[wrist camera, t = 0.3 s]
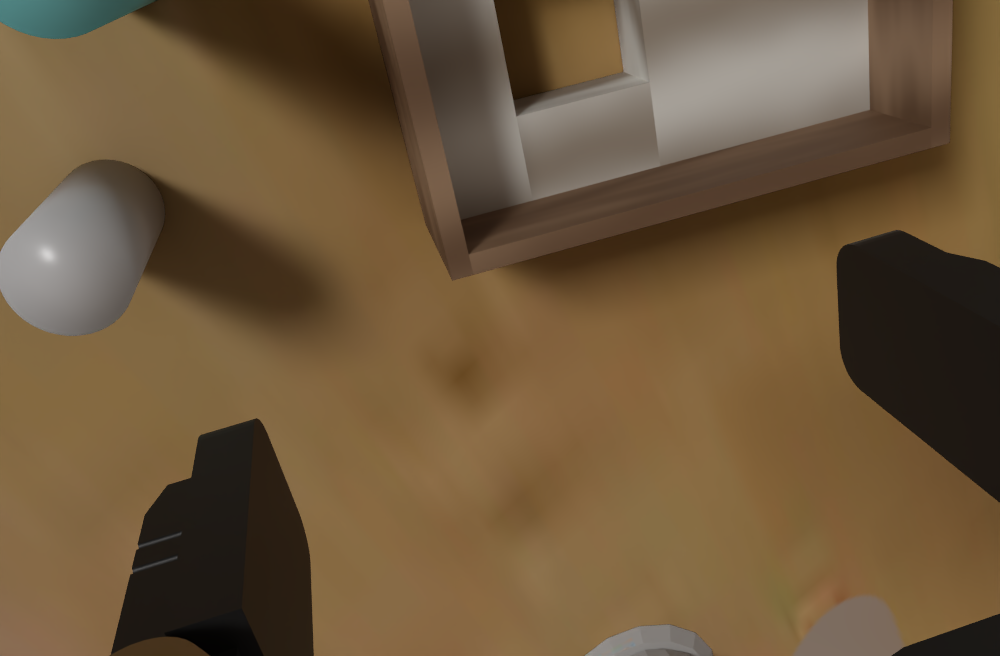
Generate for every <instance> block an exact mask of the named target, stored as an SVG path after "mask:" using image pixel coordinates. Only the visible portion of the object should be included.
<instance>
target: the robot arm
mask: <svg viewBox="0 0 1000 656" xmlns="http://www.w3.org/2000/svg"><path fill="white" fill-rule="evenodd" d="M837 289H838V311H839V334H840V350H841V355H842V359H843V362H844V365H845V368H846V370H847V372H848V374H849V376H850V378H851V379H852V381H853V382H854V383H855V385H856V386H857V387H858V388H859V389H860V390H861V391H862V392H864V393H865V394H866V395H867V396H869V397H870V398H871V399H872V400H874V401H875V402H876V403H877V404H878V405H880V406H881V407H882V408H883V409H885V410H886V411H887V412H888V413H890V414H891V415H892V416H893V417H895V418H896V419H897V420H898V421H899V422H901V423H902V424H903V425H904V426H906V427H907V428H908V429H909V430H911V431H912V432H913V433H914V434H916V435H917V436H918V437H919V438H921V439H922V440H923V441H924V442H925V443H927V444H928V445H929V446H930V447H932V448H933V449H934V450H935V451H937V452H938V453H939V454H940V455H942V456H943V457H944V458H945V459H946V460H948V461H949V462H950V463H951V464H953V465H954V466H955V467H956V468H958V469H959V470H960V471H961V472H963V473H964V474H965V475H966V476H968V477H969V478H970V479H971V480H972V481H974V482H975V483H976V484H977V485H979V486H980V487H981V488H982V489H984V490H985V491H986V492H987V493H989V494H990V495H991V496H992V497H994V498H995V499H996V500H997V501H998V502H1000V268H999V267H997V266H995V265H993V264H991V263H989V262H987V261H983V260H979V259H974V258H969V257H965V256H960V255H955V254H951V253H946V252H944V251H942V250H940V249H938V248H936V247H934V246H932V245H930V244H928V243H926V242H924V241H922V240H920V239H918V238H916V237H914V236H912V235H910V234H908V233H906V232H903V231H901V230H895V231H891V232H888V233H884V234H881V235H878V236H874V237H871V238H867V239H864V240H861V241H857V242H854V243H851V244H847V245H845V246H843V247H842V248H841V249H840V251H839V254H838V257H837ZM138 546H139V549H138V550H136V553H135V557H134V562H133V566H132V570H133V574H131V575H130V578H129V582H128V586H127V590H126V594H125V599H124V603H123V607H122V611H121V615H120V619H119V623H118V627H117V631H116V636H115V640H114V644H113V648H112V652H111V655H110V656H314V652H313V624H312V595H311V567H310V554H309V548H308V543H307V538H306V534H305V530H304V527H303V523H302V520H301V517H300V514H299V512H298V509H297V507H296V504H295V502H294V499H293V497H292V494H291V492H290V489H289V487H288V484H287V482H286V479H285V477H284V474H283V472H282V469H281V467H280V464H279V462H278V459H277V457H276V454H275V452H274V449H273V447H272V444H271V442H270V439H269V437H268V434H267V432H266V430H265V428H264V426H263V424H262V423H261V421H260V420H259V419H257V418H256V419H253V420H250V421H246V422H243V423H240V424H236V425H233V426H230V427H226V428H223V429H219V430H216V431H213V432H209V433H206V434H203V435H200V436H199V438H198V443H197V448H196V454H195V460H194V465H193V471H192V477H191V478H189V479H186V480H183V481H179V482H176V483H173V484H169V485H167V486H166V488H165V489H164V490H163V492H162V493H161V494H160V496H159V497H158V498H157V500H156V501H155V502H154V504H153V505H152V506H151V508H150V509H149V510H148V511H147V513H146V514H145V516H144V520H143V525H142V529H141V533H140V537H139V541H138ZM892 656H1000V614H998V615H995V616H992V617H989V618H986V619H983V620H980V621H978V622H975V623H972V624H969V625H966V626H963V627H960V628H958V629H955V630H952V631H949V632H946V633H943V634H940V635H938V636H935V637H932V638H929V639H926V640H923V641H920V642H918V643H915V644H912V645H909V646H906V647H903V648H902V649H901V650H899V651H898V652H896V653H895V654H893V655H892Z"/></svg>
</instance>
